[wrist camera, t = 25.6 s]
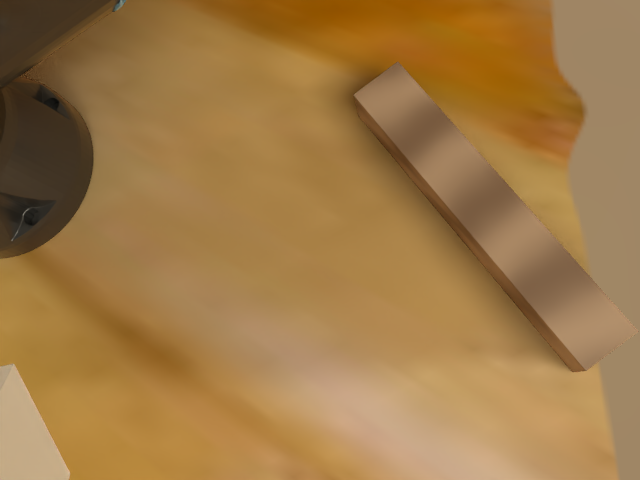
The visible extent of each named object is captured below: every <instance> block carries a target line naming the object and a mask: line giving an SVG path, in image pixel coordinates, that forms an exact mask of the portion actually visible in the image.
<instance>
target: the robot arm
mask: <svg viewBox="0 0 640 480" xmlns="http://www.w3.org/2000/svg"><path fill="white" fill-rule="evenodd" d="M125 1H126V0H0V258H8V257H13V256H17V255H21V254H24V253H26V252H29V251H31V250H33V249H35V248H37V247H39V246H41V245H42V244H44V243H45V242H47V241H48V240H50V239H51V238H52V237H54V236H55V235H56V234H57V233H58V232H59V231H60V230H61V229H62V228H63V227H64V226H65V225H66V224H67V223H68V222H69V221H70V219H71V218H72V217H73V215H74V214H75V212H76V211H77V209H78V208H79V206H80V204H81V202H82V200H83V198H84V196H85V194H86V191H87V188H88V185H89V182H90V178H91V173H92V166H93V149H92V142H91V137H90V134H89V131H88V128H87V126H86V124H85V122H84V120H83V118H82V117H81V115H80V114H79V113H78V111H77V110H76V109H75V108H74V107H73V106H72V105H71V104H70V103H69V102H67V101H66V100H65V99H64V98H62V97H61V96H60V95H58V94H57V93H56V92H55V91H53V90H52V89H50V88H48V87H47V86H45V85H43V84H41V83H39V82H36V81H33V80H30V79H27V78H23V77H19V76H21V75H22V74H23V73H25V72H26V71H28V70H29V69H30V68H32V67H33V66H35V65H36V64H38V63H39V62H41V61H42V60H43V59H45V58H46V57H48V56H49V55H51V54H52V53H53V52H55V51H56V50H58V49H59V48H61V47H62V46H64V45H65V44H66V43H68V42H69V41H71V40H72V39H74V38H75V37H76V36H78V35H79V34H81V33H82V32H84V31H85V30H87V29H88V28H89V27H91V26H92V25H94V24H95V23H97V22H98V21H99V20H101V19H102V18H104V17H105V16H107V15H108V14H110V13H111V12H115V11H117V10H118V9H120V8H121V7H122V6H123V4H124V3H125ZM69 477H70V472H69V470H68V468H67V466H66V464H65V462H64V460H63V458H62V457H61V455H60V453H59V451H58V449H57V447H56V445H55V443H54V441H53V439H52V437H51V435H50V433H49V431H48V429H47V427H46V425H45V423H44V421H43V419H42V417H41V416H40V414H39V412H38V410H37V408H36V406H35V404H34V402H33V400H32V398H31V396H30V394H29V392H28V390H27V388H26V386H25V384H24V382H23V380H22V378H21V376H20V375H19V373H18V371H17V369H16V367H15V365H14V364H10V365H6V366H1V367H0V480H69Z"/></svg>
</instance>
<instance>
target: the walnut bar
mask: <svg viewBox="0 0 640 480" xmlns="http://www.w3.org/2000/svg"><path fill="white" fill-rule="evenodd" d="M354 99H355V103H356V107H357V111H358V115H359V117H360V118H361V120H362V121H363V122H364V123H365V124H366V126H367V127H368V128H369V129H370V130H371V131H372V133H373V134H374V135H375V136H376V137H377V139H378V140H379V141H380V142H381V143H382V145H383V146H384V147H385V148H386V149H387V151H388V152H389V153H390V154H391V155H392V157H393V158H394V159H395V160H396V161H397V163H398V164H399V165H400V166H401V167H402V169H403V170H404V171H405V172H406V173H407V175H408V176H409V177H410V178H411V179H412V181H413V182H414V183H415V184H416V185H417V187H418V188H419V189H420V190H421V191H422V193H423V194H424V195H425V196H426V197H427V199H428V200H429V201H430V202H431V203H432V205H433V206H434V207H435V208H436V209H437V211H438V212H439V213H440V214H441V215H442V217H443V218H444V219H445V220H446V221H447V223H448V224H449V225H450V226H451V227H452V229H453V230H454V231H455V232H456V233H457V235H458V236H459V237H460V238H461V239H462V240H463V242H464V243H465V244H466V245H467V246H468V248H469V249H470V250H471V251H472V252H473V254H474V255H475V256H476V257H477V258H478V260H479V261H480V262H481V263H482V264H483V266H484V267H485V268H486V269H487V270H488V272H489V273H490V274H491V275H492V276H493V278H494V279H495V280H496V281H497V282H498V284H499V285H500V286H501V287H502V288H503V290H504V291H505V292H506V293H507V294H508V296H509V297H510V298H511V299H512V300H513V302H514V303H515V304H516V305H517V306H518V308H519V309H520V310H521V311H522V312H523V314H524V315H525V316H526V317H527V318H528V320H529V321H530V322H531V323H532V324H533V326H534V327H535V328H536V329H537V330H538V332H539V333H540V334H541V335H542V336H543V338H544V339H545V340H546V341H547V342H548V343H549V345H550V346H551V347H552V348H553V349H554V351H555V352H556V353H557V354H558V355H559V357H560V358H561V359H562V360H563V361H564V363H565V364H566V365H567V366H568V367H569V369H570V370H571V371H572V372H580V371H587V370H588V369H589V368H591V367H592V366H593V365H595V364H596V363H597V362H599V361H600V360H601V359H603V358H604V357H605V356H606V355H608V354H609V353H611V352H612V351H613V350H615V349H616V348H617V347H619V346H620V345H621V344H623V343H624V342H625V341H626V340H628V339H629V338H630V337H632V336H633V335H635V334H636V333H637V332H638V330H637V329H636V328H635V327H634V326H633V325H632V323H631V322H630V321H629V320H628V319H627V318H626V317H625V316H624V315H623V313H622V312H621V311H620V310H619V309H618V308H617V307H616V306H615V304H614V303H613V302H612V301H611V300H610V299H609V298H608V297H607V296H606V294H605V293H604V292H603V291H602V290H601V289H600V288H599V286H598V285H597V284H596V283H595V282H594V281H593V280H592V279H591V277H590V276H589V275H588V274H587V273H586V272H585V271H584V270H583V268H582V267H581V266H580V265H579V264H578V263H577V262H576V261H575V260H574V258H573V257H572V256H571V255H570V254H569V253H568V252H567V251H566V249H565V248H564V247H563V246H562V245H561V244H560V243H559V242H558V240H557V239H556V238H555V237H554V236H553V235H552V234H551V233H550V231H549V230H548V229H547V228H546V227H545V226H544V225H543V224H542V223H541V221H540V220H539V219H538V218H537V217H536V216H535V215H534V214H533V212H532V211H531V210H530V209H529V208H528V207H527V206H526V205H525V203H524V202H523V201H522V200H521V199H520V198H519V197H518V196H517V194H516V193H515V192H514V191H513V190H512V189H511V188H510V187H509V186H508V184H507V183H506V182H505V181H504V180H503V179H502V178H501V177H500V175H499V174H498V173H497V172H496V171H495V170H494V169H493V168H492V166H491V165H490V164H489V163H488V162H487V161H486V160H485V159H484V158H483V156H482V155H481V154H480V153H479V152H478V151H477V150H476V149H475V147H474V146H473V145H472V144H471V143H470V142H469V141H468V140H467V138H466V137H465V136H464V135H463V134H462V133H461V132H460V131H459V129H458V128H457V127H456V126H455V125H454V124H453V123H452V122H451V121H450V119H449V118H448V117H447V116H446V115H445V114H444V113H443V112H442V110H441V109H440V108H439V107H438V106H437V105H436V104H435V103H434V101H433V100H432V99H431V98H430V97H429V96H428V95H427V94H426V92H425V91H424V90H423V89H422V88H421V87H420V86H419V85H418V84H417V82H416V81H415V80H414V79H413V78H412V77H411V76H410V75H409V73H408V72H407V71H406V70H405V69H404V68H403V67H402V66H401V64H400V63H399V62H397V63H395V64H394V65H392V66H391V67H390V68H388V69H387V70H386V71H384V72H383V73H382V74H380V75H379V76H378V77H376V78H375V79H374V80H372V81H371V82H370V83H368V84H367V85H366V86H364V87H363V88H362V89H360V90H359V91H358V92H356V93H355V94H354Z"/></svg>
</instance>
